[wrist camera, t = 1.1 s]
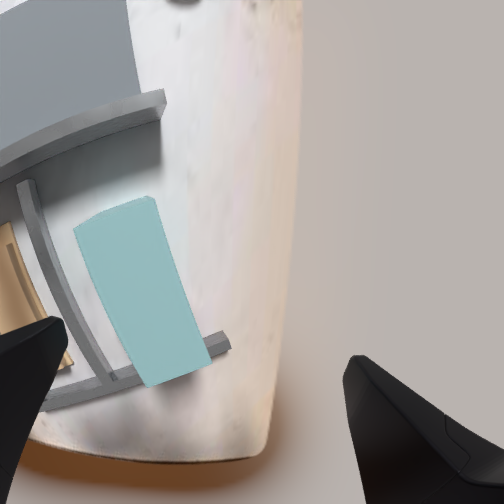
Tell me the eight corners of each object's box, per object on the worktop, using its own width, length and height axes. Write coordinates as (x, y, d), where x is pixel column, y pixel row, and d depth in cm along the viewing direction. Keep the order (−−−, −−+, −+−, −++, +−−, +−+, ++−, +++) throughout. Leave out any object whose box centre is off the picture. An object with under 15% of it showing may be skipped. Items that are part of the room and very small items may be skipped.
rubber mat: (-23, 168, 12) (-26, 168, 12) (-21, 30, 8) (-23, 28, 7) (141, 98, 17) (141, 96, 16) (122, -28, 12) (122, -31, 12)
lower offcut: (36, 368, 18) (33, 375, 17) (-23, 240, 14) (-30, 243, 13) (74, 356, 19) (72, 363, 18) (14, 219, 15) (8, 221, 14)
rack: (40, 402, 17) (33, 431, 14) (-51, 201, 11) (-78, 206, 8) (225, 339, 23) (243, 365, 20) (157, 106, 17) (163, 88, 14)
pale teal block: (138, 313, 20) (147, 387, 12) (100, 212, 17) (73, 229, 9) (180, 298, 21) (212, 363, 13) (146, 195, 18) (154, 199, 10)
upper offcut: (31, 370, 16) (27, 378, 15) (-23, 260, 13) (-30, 263, 12) (65, 360, 18) (63, 368, 17) (12, 242, 15) (5, 245, 14)
